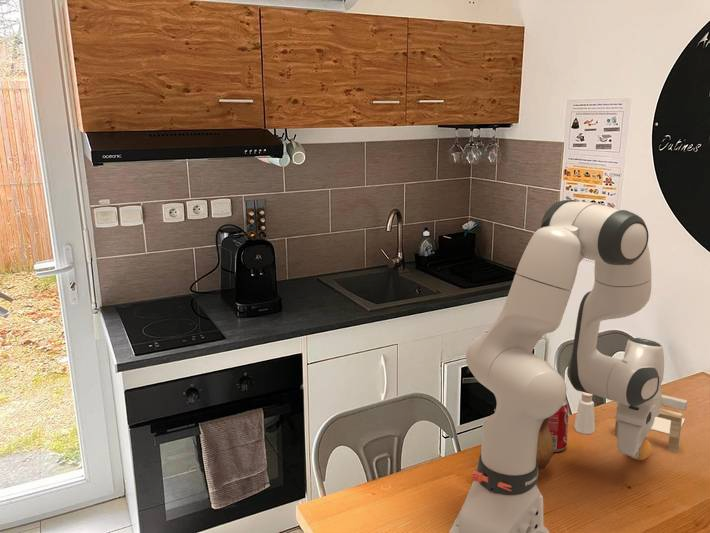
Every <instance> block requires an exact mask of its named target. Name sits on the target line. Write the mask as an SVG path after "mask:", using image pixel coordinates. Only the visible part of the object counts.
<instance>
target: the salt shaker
mask: <svg viewBox="0 0 710 533" xmlns="http://www.w3.org/2000/svg"><path fill="white" fill-rule="evenodd" d="M593 396H594V394H589V393H585V392H581V399H580V400H579V401H578V406H577V410H576V415H575V420H574V421H575V422H574V426H573V428H574V429H575V431H576V432H577V433H581V434H583V435H592V434H593V433H594V432H596V428H595V427H596V425H595V421H596V420H595V402H594V401H593Z"/></svg>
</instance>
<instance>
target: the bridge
mask: <svg viewBox="0 0 710 533" xmlns="http://www.w3.org/2000/svg"><path fill="white" fill-rule="evenodd" d="M616 403H617V404H616V410H617V409H618V406H619V403H618V402H616ZM657 417H660V418H664V419H668V420H671V425H670V434H668V444H667V451H668V452H671V453H675V454H677V453H678V450H679V446H680V438H681V429H682V427H681V423H682V418H683V413H681V412H676V411H673V410H668V409H666V408H665V409H664V408H661V407H660V414H659V415H658V416H657ZM618 422H619V420H617V419H616V418H615V426H614V437H617V434H618Z"/></svg>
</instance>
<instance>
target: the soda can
mask: <svg viewBox="0 0 710 533" xmlns="http://www.w3.org/2000/svg"><path fill="white" fill-rule="evenodd" d="M569 410H570V408H569V404H568V400H567V399H566V398H565V401H564V403H563V405H562V407H561V408H560V409H559V410H558V411H557V412H556V413H555V414H554V415H552V416H550V417H549V420H548V428H549V431H550V433H551V437H552V440H553V453H554V452H555V453H557V452H562V451H563V450H565V449H566V447H567V446H568V430H569V429H568V428H569V412H570V411H569Z"/></svg>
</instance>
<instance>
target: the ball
mask: <svg viewBox="0 0 710 533" xmlns="http://www.w3.org/2000/svg"><path fill="white" fill-rule="evenodd" d="M651 453H652V445H651V442H650V441H649V440H648V439H647V438H645V439H644V441H643V443H642V446H641V453H640V454H639V456H638V458H637V459H635V458H633V459H634V460H636V461H637V460H638V461H643V460H645V459H648V457H650V455H651Z"/></svg>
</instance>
